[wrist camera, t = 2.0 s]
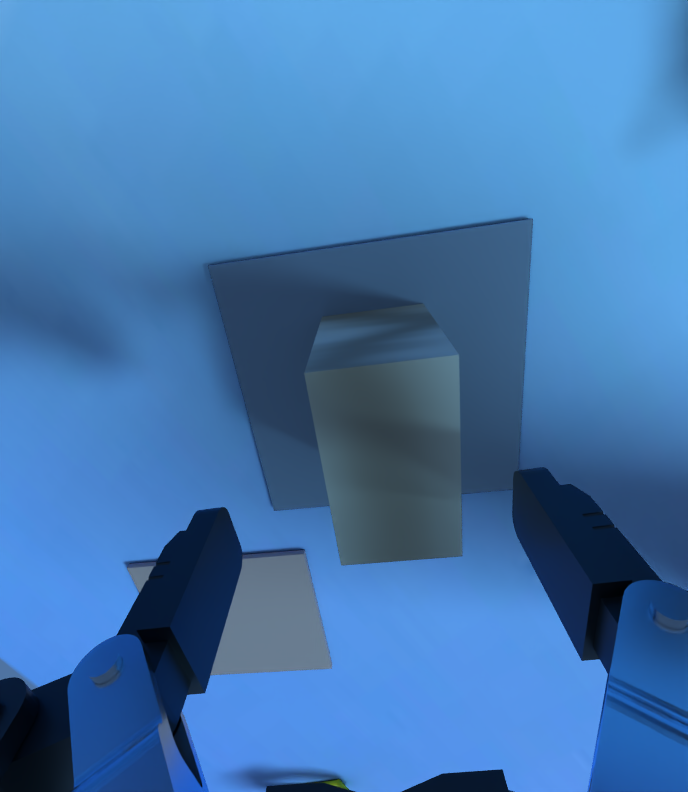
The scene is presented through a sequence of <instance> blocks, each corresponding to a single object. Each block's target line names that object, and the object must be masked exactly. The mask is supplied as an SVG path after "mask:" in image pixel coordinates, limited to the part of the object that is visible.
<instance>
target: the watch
mask: <svg viewBox="0 0 688 792" xmlns="http://www.w3.org/2000/svg"><path fill="white" fill-rule="evenodd" d="M315 783H318V782H315ZM319 783H320V782H319ZM323 783H327V784H330V785H334V786H337V787H341V788H344V789H348V788H347V787H346V786H345V785H344V784H343V783H342V782H341V781H340V779H337V780H331V781H325V782H323ZM348 790H349V789H348Z"/></svg>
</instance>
